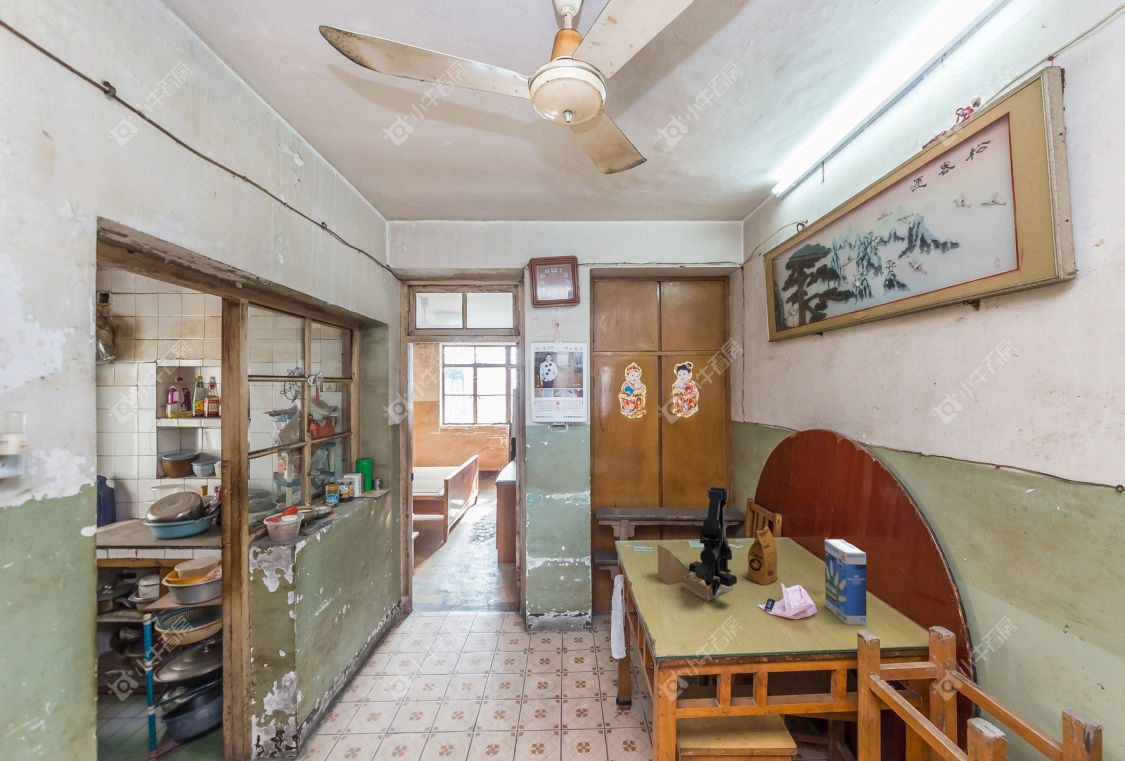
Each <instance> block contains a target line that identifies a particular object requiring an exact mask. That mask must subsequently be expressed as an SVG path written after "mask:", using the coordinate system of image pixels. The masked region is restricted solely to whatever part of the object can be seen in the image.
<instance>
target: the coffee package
mask: <svg viewBox="0 0 1125 761" xmlns="http://www.w3.org/2000/svg"><path fill="white" fill-rule="evenodd" d="M753 534H754V535H755V536H756V537H755V539H754V542H753V543H752V545H751V546H750V547H749V549H748V553H747V561H748V562H747V563H748V564H747V566H748V567H747V568H748V569H747V570H748V571H747V572H748V573H747V576H748V579H749V580H750V581H753V582H755V583H757V584H759V585H762V586H767V585H769V584H770V583H775V582H776V580H777V579H778V551H777V544H776V541H775V540H776V539H775V538H774V536H773V534H772V532H771V530H770V528H769V526H764V527H763V529H762V530H754V532H753Z"/></svg>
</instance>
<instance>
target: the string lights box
mask: <svg viewBox="0 0 1125 761" xmlns="http://www.w3.org/2000/svg"><path fill="white" fill-rule="evenodd" d="M824 570H825V571H824V576H825V578H824V579H825V581H824V582H825V584H824V585H825V587H824V588H825V607H827V609H828V610H830V611H831V612H832V614H834V615H835V616H836V617H837V618H839V619H840V620H841V621H842V622H843V623H844V624H845V625H849V626H851V625H852V626H867V622H868V621H867V553H866V552H865V551H863V550H861V549H859V548H858V547H856V546H855V545H853V544H851V543H849V542H847V541H846V540H844V539H829V538H828V539H827V538H826V539H824Z"/></svg>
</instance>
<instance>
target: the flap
mask: <svg viewBox="0 0 1125 761" xmlns="http://www.w3.org/2000/svg"><path fill="white" fill-rule="evenodd" d="M733 589H734V585H732V586H730V587H727V586H725V585H722V584H721V585H720V587H719V589H718V591H717V593H716V595H715V596H713V583H712V584H710V585H708V586H707V600H706V601H708V602H709V601H711V600H713V599H715V598H717V597H719V596H722V595H723V594H725V593H727V592H729V591H732V590H733Z"/></svg>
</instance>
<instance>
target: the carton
mask: <svg viewBox="0 0 1125 761" xmlns="http://www.w3.org/2000/svg"><path fill="white" fill-rule="evenodd" d="M720 573H722V574H726V573H725V572H723V571H720ZM713 579H714V576H713ZM681 583H682V590H683V592H686V593H688V594H691V595H693V596H695V597H696V598H700V599H702V600H703V601H707V586H706V584H705V581H704V580H702V579H700V578H697V577H696V573H693V572H691V573H690V574H688V575H686V576H683V577H682V582H681Z"/></svg>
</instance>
